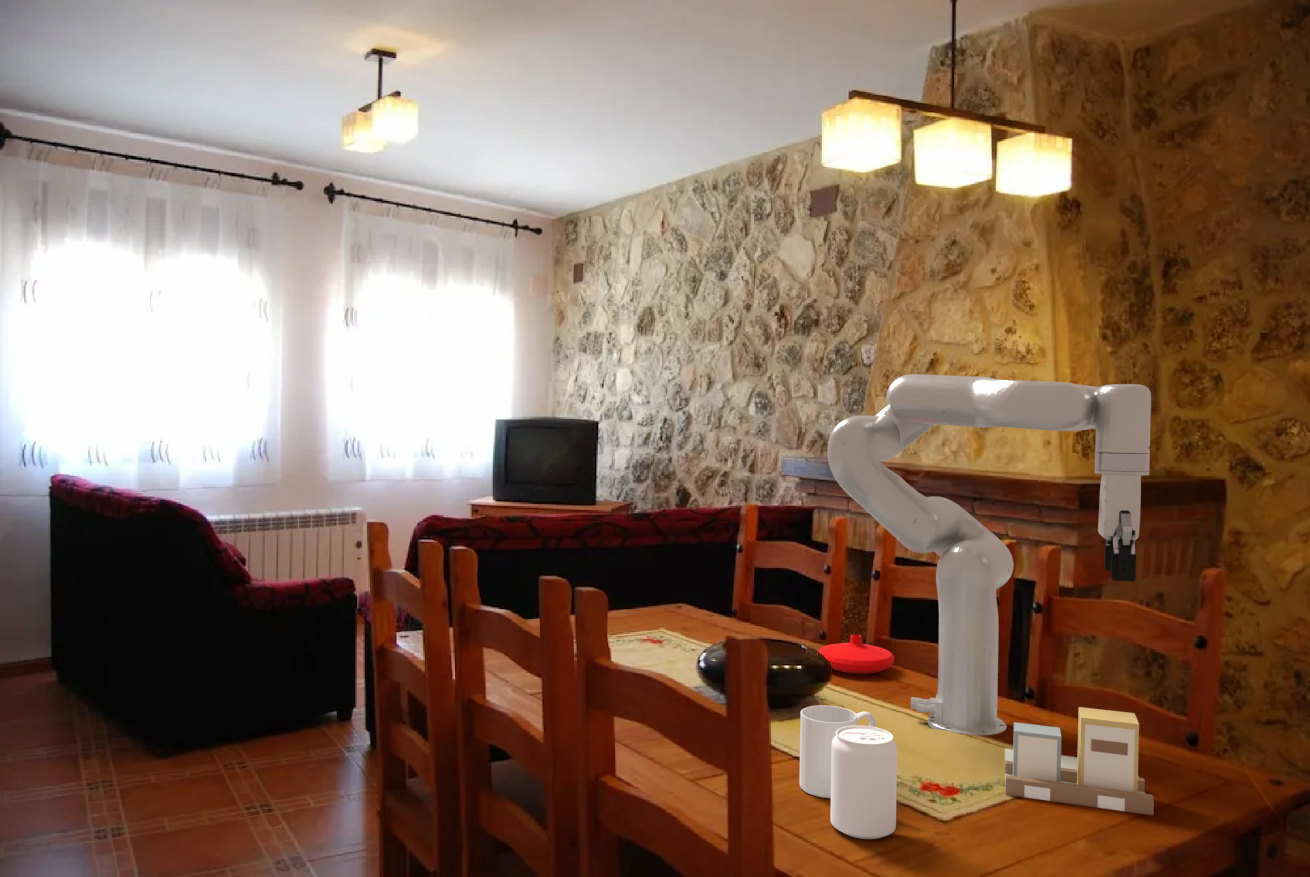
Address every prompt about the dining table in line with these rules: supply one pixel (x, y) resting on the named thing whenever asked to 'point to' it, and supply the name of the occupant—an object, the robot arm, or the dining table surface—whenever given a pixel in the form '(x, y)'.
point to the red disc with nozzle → (857, 657)
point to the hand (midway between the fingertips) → (1119, 575)
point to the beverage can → (863, 782)
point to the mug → (822, 744)
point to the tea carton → (1108, 749)
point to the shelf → (1076, 789)
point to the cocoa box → (1037, 752)
